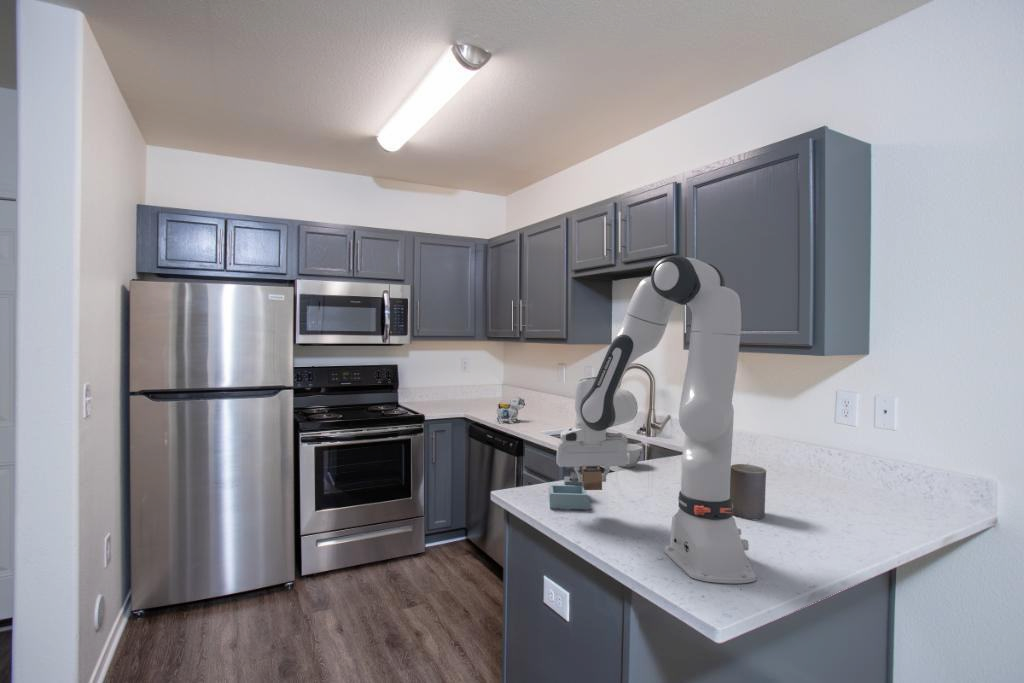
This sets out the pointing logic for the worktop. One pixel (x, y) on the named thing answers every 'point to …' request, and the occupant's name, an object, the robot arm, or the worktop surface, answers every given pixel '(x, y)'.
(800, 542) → the worktop surface
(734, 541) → the robot arm
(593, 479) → the brown wooden block
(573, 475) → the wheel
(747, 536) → the worktop surface
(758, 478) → the pillar candle
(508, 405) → the robotic toy
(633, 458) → the teacup
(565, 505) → the teal open storage bin
